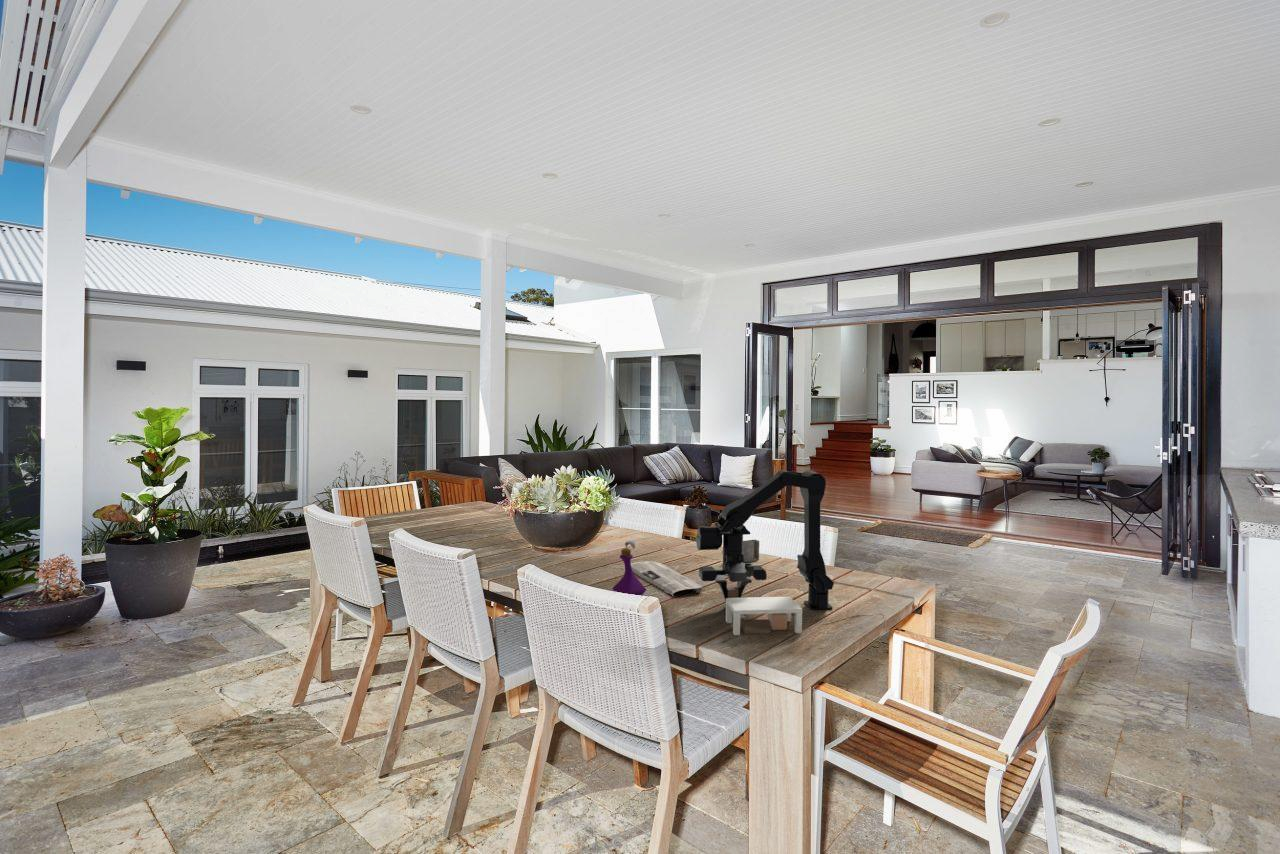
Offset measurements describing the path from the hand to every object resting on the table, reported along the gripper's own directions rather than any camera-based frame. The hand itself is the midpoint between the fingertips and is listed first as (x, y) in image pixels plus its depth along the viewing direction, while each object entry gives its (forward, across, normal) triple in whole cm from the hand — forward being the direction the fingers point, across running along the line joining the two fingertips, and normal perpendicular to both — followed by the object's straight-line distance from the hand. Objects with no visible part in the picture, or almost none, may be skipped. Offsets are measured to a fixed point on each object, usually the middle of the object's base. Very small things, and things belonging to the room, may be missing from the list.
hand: (732, 602), depth 187 cm
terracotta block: (+2, +9, -14) cm, 17 cm away
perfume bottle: (+2, -29, +10) cm, 31 cm away
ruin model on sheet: (+3, +17, +50) cm, 53 cm away
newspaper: (+3, -16, +29) cm, 33 cm away
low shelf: (+2, +5, -14) cm, 15 cm away
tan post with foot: (+2, +2, -8) cm, 9 cm away
